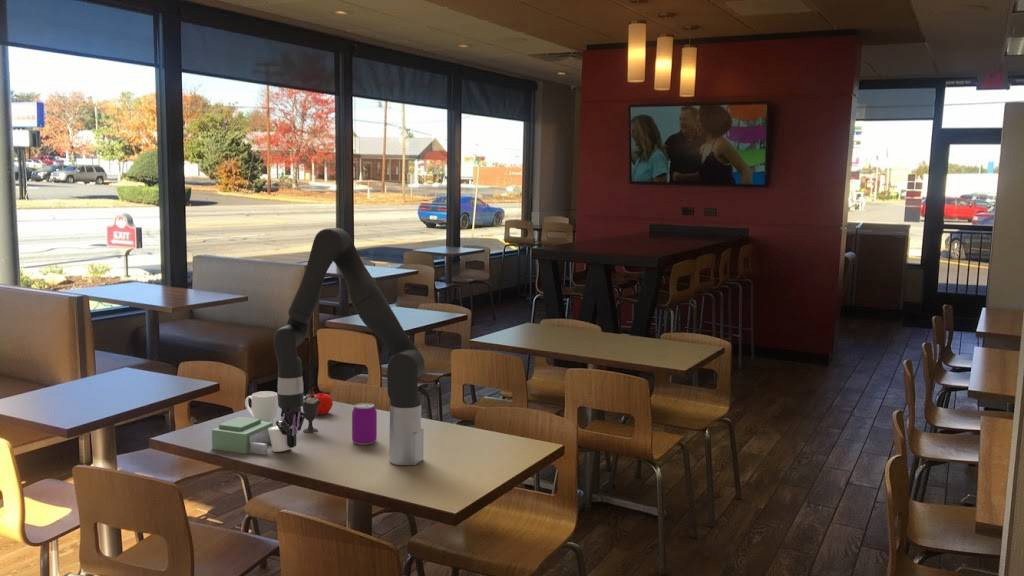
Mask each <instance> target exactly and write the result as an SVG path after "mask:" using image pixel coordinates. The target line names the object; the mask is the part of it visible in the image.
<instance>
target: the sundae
mask: <svg viewBox="0 0 1024 576" xmlns="http://www.w3.org/2000/svg"><path fill="white" fill-rule="evenodd" d="M313 390H315V387H312V389H311V391H310V392H307V393H306V394H305V397H304V405H303V406H302V412H305V413H306V416H305V418H304V420H307V421H308V426H307V428H305V429H303V430H302V432H303V433H304V434H305V433H306V434H314V432H315V433H318V431H319V429H318V428H314V426H313V421H314V420H315V419H316V418H317V416H318V414H317V411H318V404H319V403H320V400H318V399H317V398H316V394H315V392H314V391H313Z"/></svg>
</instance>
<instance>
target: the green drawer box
mask: <svg viewBox="0 0 1024 576" xmlns="http://www.w3.org/2000/svg"><path fill="white" fill-rule="evenodd" d="M273 424H274V422H265V421H261V419H254V418H253V417H244V416H237V417H235V418H232V419H229V420H227V421H225V422H221V423H220V424H218V427H215V428H213V429H211V449H212V450H216V451H217V450H218V451H223V452H224V451H225V452H231V453H232V452H233V453H236V454H237V453H240V454H248V453H249V452H248V436H250V435H252V434H255V433H257V432H259V431H261V430H264V429H266V428H268V427H273V426H274V425H273Z"/></svg>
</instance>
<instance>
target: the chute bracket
mask: <svg viewBox="0 0 1024 576" xmlns="http://www.w3.org/2000/svg"><path fill="white" fill-rule="evenodd" d="M268 428H270V427H268ZM268 428H266V429H264V430H261V431H259V432H257V433H255V434H252V435H250V436H248V453H250V454H257V455H263V456H264V455H267V454H268V445H269V444H271V441H270V436H269V432H268Z"/></svg>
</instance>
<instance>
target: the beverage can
mask: <svg viewBox="0 0 1024 576" xmlns="http://www.w3.org/2000/svg"><path fill="white" fill-rule="evenodd" d="M377 413H378V412H377V408H376V406H375V404H374V403H371V402H360V403H356V404H354V406H353V409H352V412H351V440H352V442H354V444H356V445H357V446H358V445H359V446H369V445H372V444H374V443H375V442H376V441H377V436H378V435H377V433H378V432H377V431H378V430H377V428H378V427H377V426H378V425H377V424H378V421H377V419H378V417H377V416H378V414H377Z"/></svg>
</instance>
